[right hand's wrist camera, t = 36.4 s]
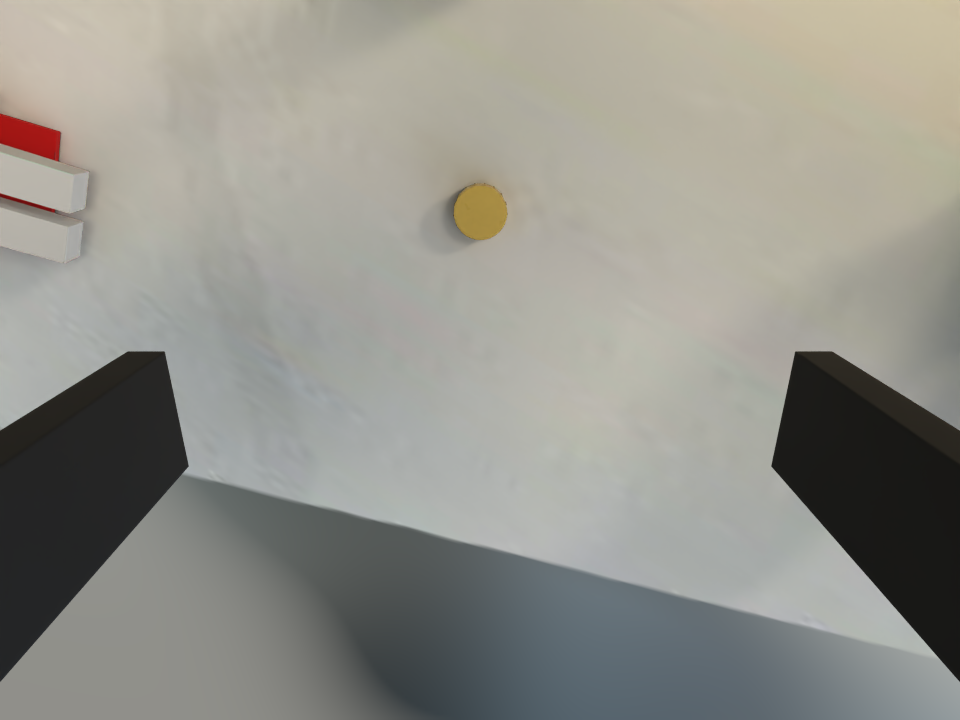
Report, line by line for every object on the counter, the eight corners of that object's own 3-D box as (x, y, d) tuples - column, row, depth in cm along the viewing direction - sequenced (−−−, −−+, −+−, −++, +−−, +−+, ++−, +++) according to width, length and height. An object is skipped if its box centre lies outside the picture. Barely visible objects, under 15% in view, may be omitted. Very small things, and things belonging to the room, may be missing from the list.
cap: (517, 210, 45) (519, 214, 43) (479, 247, 46) (479, 251, 44) (481, 171, 44) (481, 173, 42) (443, 209, 45) (442, 212, 43)
